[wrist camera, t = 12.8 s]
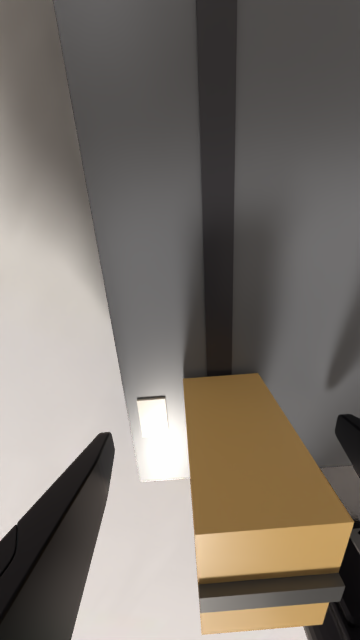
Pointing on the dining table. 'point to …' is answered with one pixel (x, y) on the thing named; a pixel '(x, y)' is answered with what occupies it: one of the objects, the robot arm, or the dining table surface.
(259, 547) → the block
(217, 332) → the console
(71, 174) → the dining table surface
